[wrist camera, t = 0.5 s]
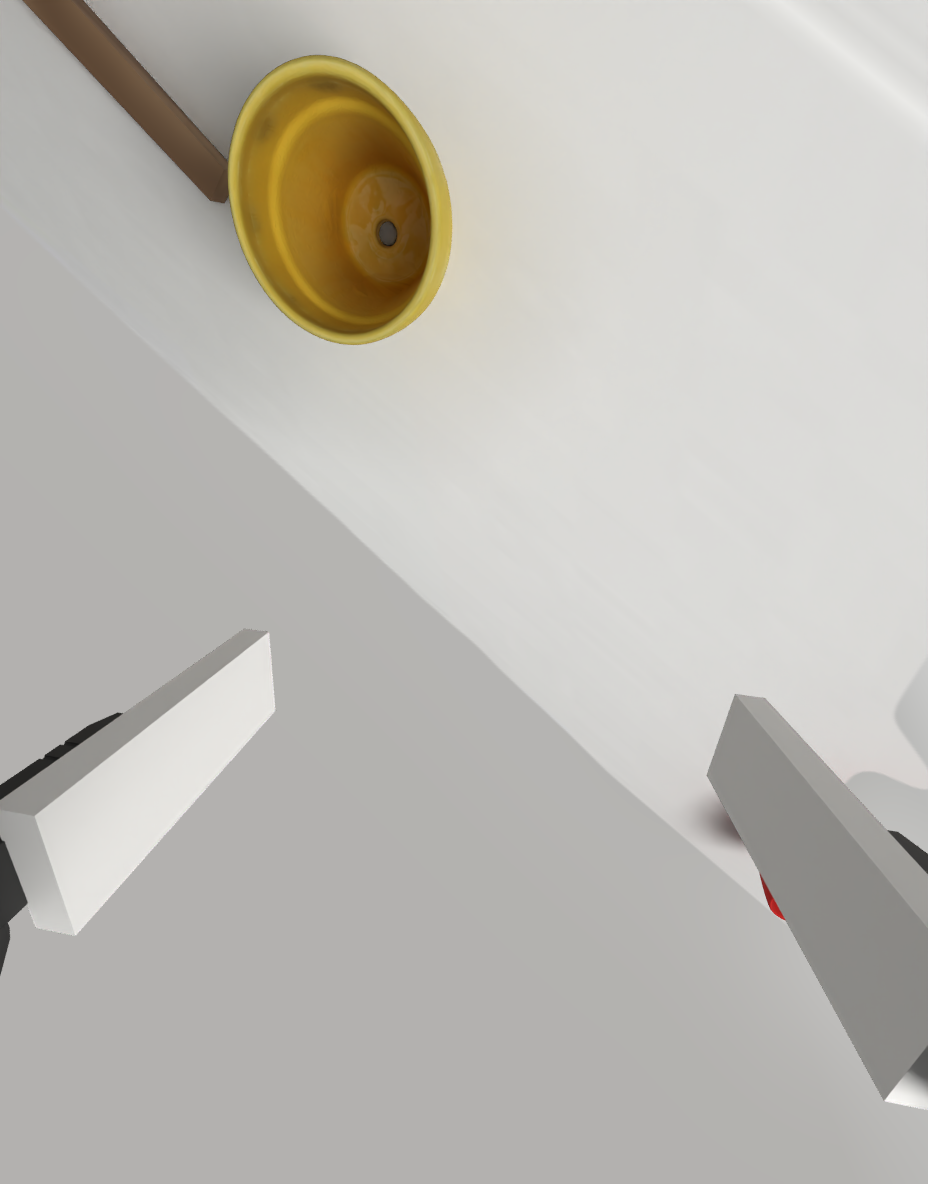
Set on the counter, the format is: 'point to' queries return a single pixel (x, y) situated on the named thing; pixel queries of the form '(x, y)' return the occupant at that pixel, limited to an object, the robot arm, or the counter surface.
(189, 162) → the wooden plank
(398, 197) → the plant pot
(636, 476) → the counter surface
